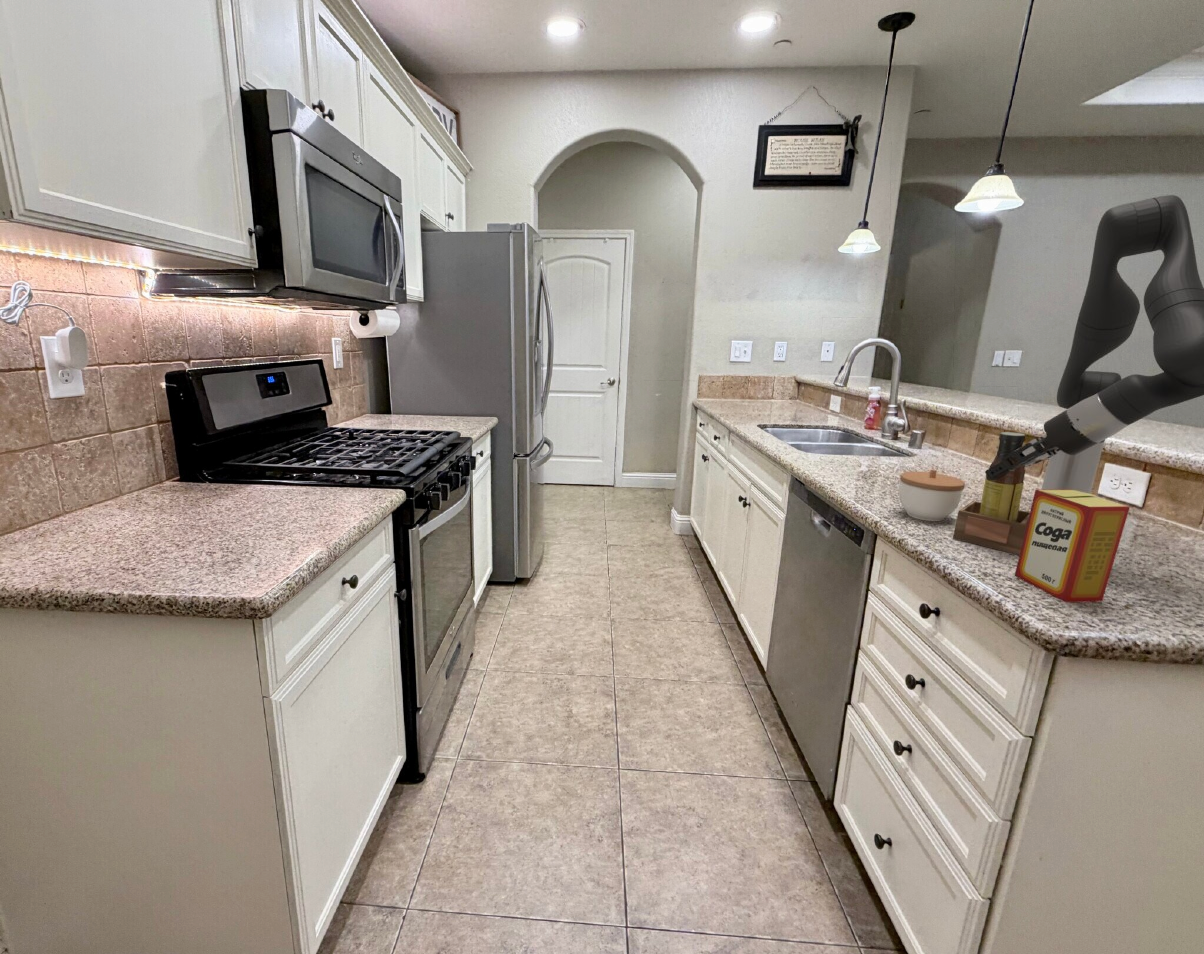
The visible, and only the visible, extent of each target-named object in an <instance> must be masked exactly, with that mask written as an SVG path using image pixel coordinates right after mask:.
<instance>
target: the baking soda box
mask: <svg viewBox="0 0 1204 954" xmlns="http://www.w3.org/2000/svg"><path fill="white" fill-rule="evenodd" d="M1130 509H1131V507H1130V506H1127V505H1125V504H1121V503H1117V502H1115V501H1111V500H1108V499H1104V498H1101V497H1098V496H1097V494H1092V493H1090V494H1089V493H1084V492H1080V491H1076V490H1071V489H1044V490H1041V489H1035V491H1034V494H1033V499H1032V503H1031V507H1030V511H1029V512H1030V515H1029V519H1028V523H1027V527H1026V531H1025V535H1024V539H1023V543H1022V547H1021V551H1020V555H1018V560H1017V565H1016V568H1015V572H1014V577H1016V578H1018V579H1020V580H1021V581H1023V582H1025V583H1028V584H1030V585H1032V586H1033V585H1034V586H1033V587H1035V588H1037V589H1039V590H1041V591H1043V592H1045V593H1046V594H1049V595H1051V596H1053V597H1054V598H1056V599H1058V600H1060V601H1062V602H1065V603H1079V602H1084V601H1085V602H1102V601H1104V600H1103V599H1104V596H1105V593H1106V589H1107V586H1108V583H1109V579H1110V576H1111V571H1112V569H1113V566H1114V562H1115V559H1116V555H1117V551H1118V549H1119V546H1120V542H1121V539H1122V534H1123V532H1124V529H1125V524H1126V522H1127V518H1128V514H1129V511H1130Z"/></svg>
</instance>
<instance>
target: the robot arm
mask: <svg viewBox="0 0 1204 954" xmlns="http://www.w3.org/2000/svg"><path fill="white" fill-rule="evenodd" d="M1191 228H1192V227H1191V223H1190V217H1189V213H1188V210H1187V206H1186V205H1185V203H1184V201H1183V200H1182V198H1181V197H1179V196H1178V195H1174V194H1169V195H1168V194H1167V195H1161V196H1155V197H1152V198H1147V199H1143V200H1138V201H1134V202H1128V203H1124V204H1120V205H1117V206H1113V207H1111V208H1109V209H1107V210H1106V211H1105V212H1104V213H1103V215H1102V217H1101V219H1100V221H1099V223H1098V226H1097V230H1096V234H1095V241H1094V248H1093V254H1092V261H1091V266H1090V271H1089V278H1088V283H1087V286H1086V290H1085V292H1084V297H1083V300H1082V303H1081V307H1080V310H1079V313H1078V315H1077V316H1078V318H1077V321H1076V323H1075V324H1076V326H1075V329H1074V334H1073V339H1072V345H1071V349H1070V352H1069V356H1068V359H1067V362H1066V365H1065V368H1064V370H1063V374H1062V376H1061V379H1060V382H1059V384H1058V387H1057V388H1058V389H1057V392H1056V402H1057V405H1058V406H1059V408H1062V409H1066V410H1064V411H1062V412H1060V413H1059V414H1057V415H1055V416H1053V417H1052V418H1050V419H1048V420H1047V421H1045V422H1044V424H1043V430H1044V432H1045V434H1046V436H1045V437H1044V436H1041V437H1039V438H1038V437H1036V438H1034V439H1031V440H1030V441H1028V442H1027V443H1025V444H1024V445H1022V447H1021V448H1019V449H1017V450H1015V451H1014V452H1013V453H1011V454H1009V455H1008V456H1006V457H1003V458H1002V459H1001V461H1002V462H1000V463H998V464H997V465H995V466H993V467H991V468H990V469H989V468H987V469H986V470H985V472H984V474H985V476H986V475H987V476H988V478H989V479H990V480H995V479H997V478H999V477H1000V476H1002V475H1004V474H1006V473H1008V472H1009V471H1013V470H1015V469H1016V468H1018V467H1020V466H1024V468H1027V467H1031V466H1032V465H1035V464H1039V463H1041V462H1043V461H1045V460H1046V459H1048V462H1047V466H1046V470H1045V473H1044V474H1045V475H1044V478H1043V480H1042V481H1043V482H1042V485H1041V489H1040V490H1044V489H1071V490H1076V491H1080V492H1084V493H1089V494H1092V490H1093V485H1094V481H1095V478H1096V474H1097V471H1098V467H1099V463H1100V460H1101V456H1102V451H1103V449H1104V444H1105V441H1106V440H1107V439H1109V438H1111V437H1112V436H1115V435H1116V434H1118V433H1119V432H1120V431H1122V430H1124V429H1125V428H1127V427H1128V426H1130V425H1132V424H1133V423H1135V422H1138V421H1140V420H1141V419H1143V418H1146V417H1148V416H1149V415H1151V414H1153V413H1154V412H1156V411H1159V410H1162V409H1165V408H1168V407H1172V406H1175V405H1178V404H1182V403H1184V402H1188V401H1191V400H1194V399H1197V398H1199V397H1202V396H1204V286H1203V283H1202V281H1201V278H1200V277H1201V276H1200V274H1199V270H1198V264H1197V259H1196V256H1197V255H1196V250H1195V244H1194V238H1193V233H1192V229H1191ZM1156 251H1161V252H1162V253H1163V255H1164V256H1163V261H1162V263H1161V265H1160V266H1159V268H1158V269H1157V271H1156V273H1155V274H1154V276H1153V277H1152V279H1151V280H1150V282H1149V284H1148V285H1147V287H1146V289H1145V292H1144V296H1143V306H1144V311H1145V314H1146V317H1147V319H1148V322H1149V324H1150V326H1151V329H1152V331H1153V336H1152V338H1153V339H1152V346H1153V347H1152V348H1153V349H1152V350H1153V356H1154V359H1155V362H1156V364H1157V365H1158V367H1159V369H1161V370H1162V371H1163V372H1160V373H1158V374H1155V375H1144V374H1143V375H1142V374H1131V375H1128V376H1125V377H1123V378H1122V376H1121V374H1120V373H1118V372H1115V371H1114V372H1113V371H1098V370H1097V371H1094V370H1087V369H1089V367H1091V366H1092V365H1093V364H1094V363H1095V362H1097V361H1099V360H1100V359H1102V358H1103V357H1105V356H1107V355H1108V354H1110V353H1112V352H1114V351H1115V350H1116V349H1117V348H1119V347H1120V346H1121V345H1123V344H1124V343H1126V341H1127V340H1128V339H1129V338H1130V337H1131V335H1132V334H1133V330H1134V328H1135V326H1136V322H1137V320H1138V316H1139V315H1140V310H1141V303H1140V300H1139V298H1138V296H1137V295H1136V293H1135V292H1134V291H1133V289H1132V288H1131V287H1130V285H1128V284H1127V282H1125V281H1124V279H1123V278H1122V276H1121V275H1120V273H1119V271H1118V266H1119V265H1118V263H1119V261H1120V260H1121V259H1123V258H1126V257H1131V256H1137V255H1143V254H1146V253H1153V252H1156ZM1012 458H1015V459H1016V460H1017V463H1016V464H1013V463H1012V462H1011V460H1010V459H1012Z"/></svg>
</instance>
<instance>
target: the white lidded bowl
mask: <svg viewBox="0 0 1204 954" xmlns="http://www.w3.org/2000/svg"><path fill="white" fill-rule="evenodd" d="M937 472H938V470H937V469H934V468H933V469H932V468H931V469H930V471H929V472H928V471H905V472H902V473H900V477H899V479H900V480H899V485H898V497H899V498H898V499H899V502H900V503H901V506H902V507H903V509H904V510H905V511H906V513H907V515H908V516H909V517H911V518H913V519H917V520H920V521H921V520H922V521H926V522H942V521H943V520H944V519H945V518H947V517H949V516H950V515H952V514H953V513H954V512H955V510H956V509H958V506H959V505H960V502H961V499H962V495H963V493H964V492H963V491H964V489H965V486H966V483H965V481H963V480H962V479H960V478H957V477H956V476H951V475H947V474H941V473H937Z"/></svg>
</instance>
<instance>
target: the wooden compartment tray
mask: <svg viewBox="0 0 1204 954" xmlns="http://www.w3.org/2000/svg"><path fill="white" fill-rule="evenodd" d="M980 507H981V502H980V501H976V500H972V501H970V502H969V503H967V504H965V506H963V507H961V508H960V509H959V510H958V512H957V516H956V522H955V526H954V531H953V536H952V539H954V538H955V539H954V540H958V541H962V542H966V543H969V544H970V543H971V544H974V545H978V546H983V547H986V548H991V549H995V550H999V551H1003V552H1006V553H1010V554H1015V555H1018V556H1020V551H1021V547H1022V543H1023V539H1024V535H1025V531H1026V527H1027V523H1028V519H1029V515H1030V511H1027V510H1026V511H1025V510H1020V509H1019V511H1018V517H1017V522H1013V521H1008V520H1004V519H999V518H994V517H990V516H985V515H980V514H979V513H980Z"/></svg>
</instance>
